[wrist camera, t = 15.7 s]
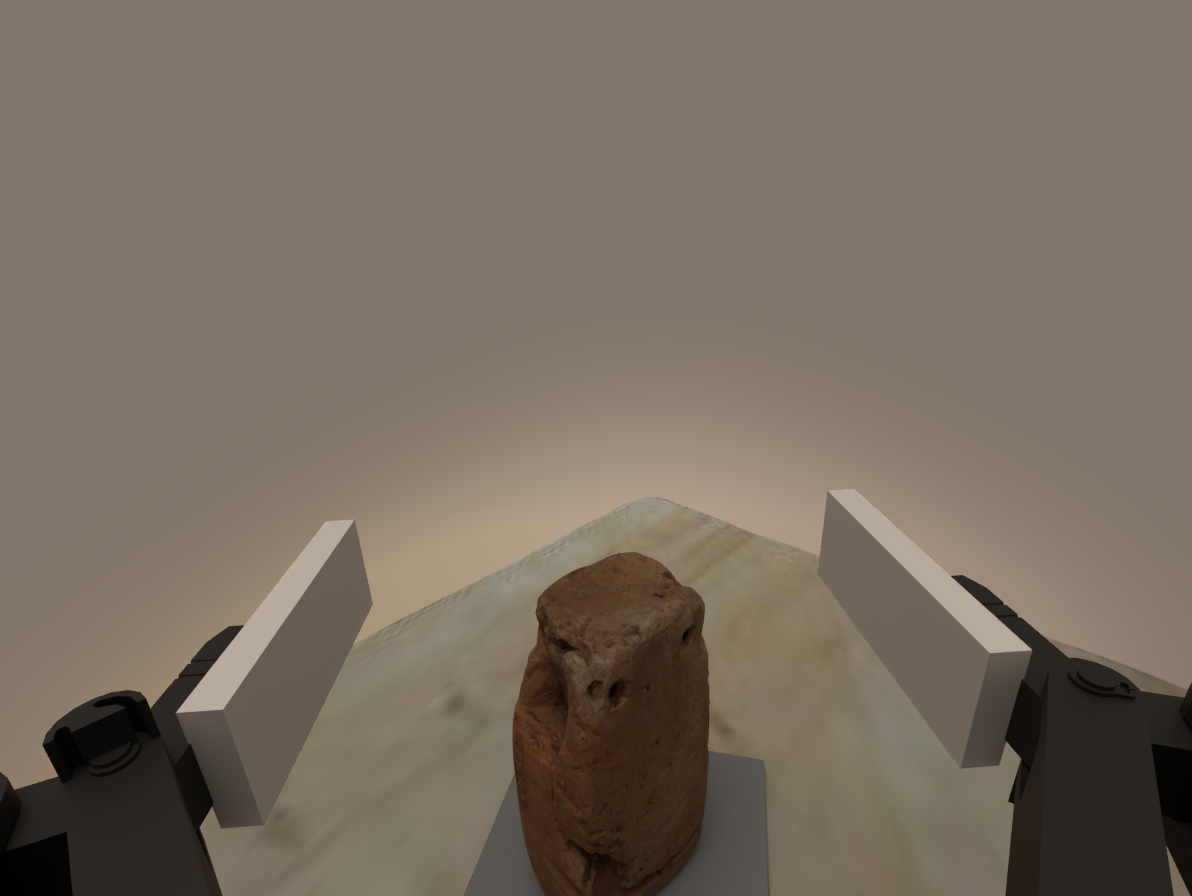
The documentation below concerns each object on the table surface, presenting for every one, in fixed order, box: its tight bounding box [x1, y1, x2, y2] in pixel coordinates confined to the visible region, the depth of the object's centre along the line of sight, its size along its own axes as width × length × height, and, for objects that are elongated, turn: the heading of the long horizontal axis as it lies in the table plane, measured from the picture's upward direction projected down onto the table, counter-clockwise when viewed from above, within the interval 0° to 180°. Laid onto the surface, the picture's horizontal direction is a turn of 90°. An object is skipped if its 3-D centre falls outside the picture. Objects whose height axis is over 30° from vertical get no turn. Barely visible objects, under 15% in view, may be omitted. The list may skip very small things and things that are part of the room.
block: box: [513, 552, 710, 896], centre depth 34 cm, size 11×8×20 cm
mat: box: [464, 751, 768, 896], centre depth 38 cm, size 18×18×1 cm
